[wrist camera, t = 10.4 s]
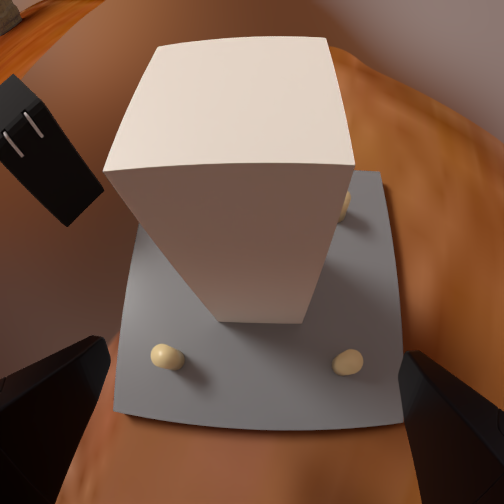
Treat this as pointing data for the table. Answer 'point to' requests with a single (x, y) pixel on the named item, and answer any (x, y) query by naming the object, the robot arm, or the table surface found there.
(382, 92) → the table surface
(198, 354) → the mount plate
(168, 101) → the cream block
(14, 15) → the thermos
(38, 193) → the electronic device
